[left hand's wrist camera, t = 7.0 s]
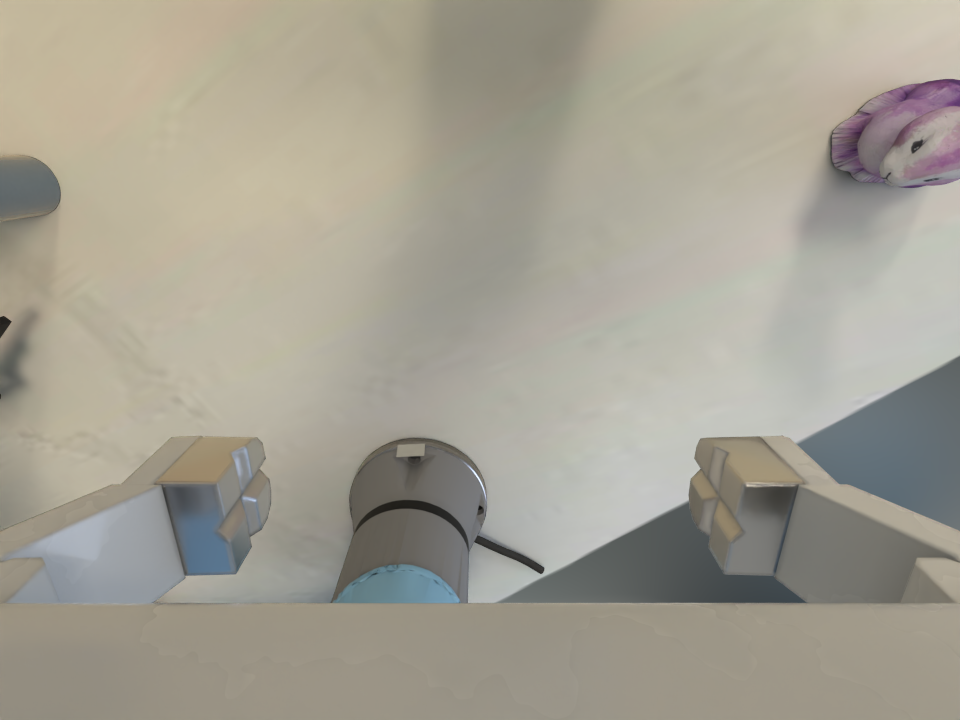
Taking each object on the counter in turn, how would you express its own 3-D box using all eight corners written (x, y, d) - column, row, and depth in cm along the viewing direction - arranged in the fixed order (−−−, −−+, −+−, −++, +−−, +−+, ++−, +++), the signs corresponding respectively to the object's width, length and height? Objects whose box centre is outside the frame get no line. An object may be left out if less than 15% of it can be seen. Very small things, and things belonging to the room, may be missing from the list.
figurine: (800, 165, 48) (931, 173, 34) (888, 54, 45) (1071, 13, 31) (875, 222, 50) (1028, 251, 36) (964, 119, 47) (1170, 108, 33)
